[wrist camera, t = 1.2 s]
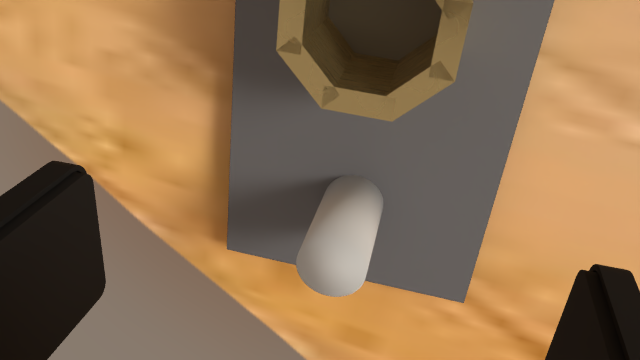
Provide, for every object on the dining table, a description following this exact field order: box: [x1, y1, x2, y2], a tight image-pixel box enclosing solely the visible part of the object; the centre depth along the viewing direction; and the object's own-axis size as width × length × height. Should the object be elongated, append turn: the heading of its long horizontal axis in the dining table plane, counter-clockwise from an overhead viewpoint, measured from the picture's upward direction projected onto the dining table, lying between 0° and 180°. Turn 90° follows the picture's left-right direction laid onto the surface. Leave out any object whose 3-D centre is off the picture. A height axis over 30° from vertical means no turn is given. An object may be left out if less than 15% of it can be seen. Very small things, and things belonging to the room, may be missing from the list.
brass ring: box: [276, 0, 473, 122], centre depth 24 cm, size 7×7×5 cm
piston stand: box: [227, 0, 554, 303], centre depth 26 cm, size 20×14×7 cm
